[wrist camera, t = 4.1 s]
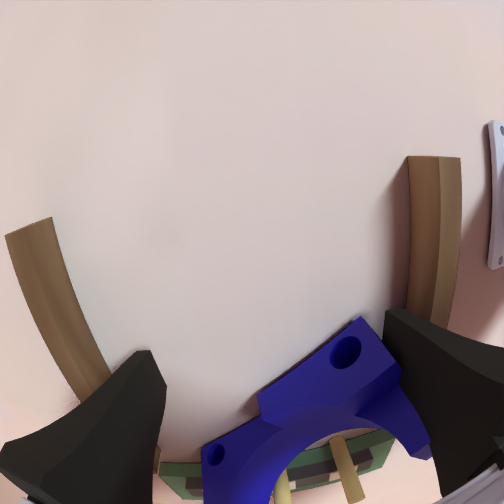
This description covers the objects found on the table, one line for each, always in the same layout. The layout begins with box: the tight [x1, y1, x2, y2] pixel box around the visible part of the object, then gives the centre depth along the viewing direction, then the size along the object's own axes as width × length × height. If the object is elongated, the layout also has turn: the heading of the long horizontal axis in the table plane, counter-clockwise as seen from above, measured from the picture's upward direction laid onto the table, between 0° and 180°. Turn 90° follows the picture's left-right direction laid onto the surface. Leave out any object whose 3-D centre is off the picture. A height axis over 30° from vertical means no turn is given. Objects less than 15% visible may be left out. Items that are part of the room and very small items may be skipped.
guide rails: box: [5, 156, 462, 474], centre depth 11 cm, size 17×15×2 cm
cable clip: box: [201, 316, 432, 504], centre depth 10 cm, size 12×4×6 cm, turn 134°
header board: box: [158, 429, 395, 504], centre depth 13 cm, size 16×6×5 cm, turn 99°
